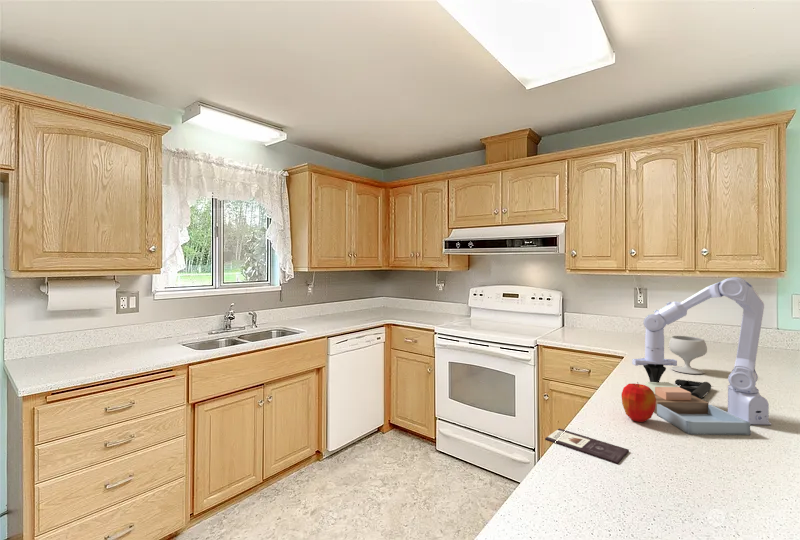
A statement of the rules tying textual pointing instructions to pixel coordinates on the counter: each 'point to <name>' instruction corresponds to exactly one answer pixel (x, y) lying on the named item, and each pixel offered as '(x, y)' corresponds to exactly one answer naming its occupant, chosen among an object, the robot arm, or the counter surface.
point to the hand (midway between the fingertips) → (654, 385)
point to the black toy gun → (694, 387)
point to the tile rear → (658, 385)
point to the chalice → (687, 352)
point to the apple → (638, 402)
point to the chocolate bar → (588, 446)
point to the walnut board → (684, 405)
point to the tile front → (673, 393)
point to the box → (706, 422)
